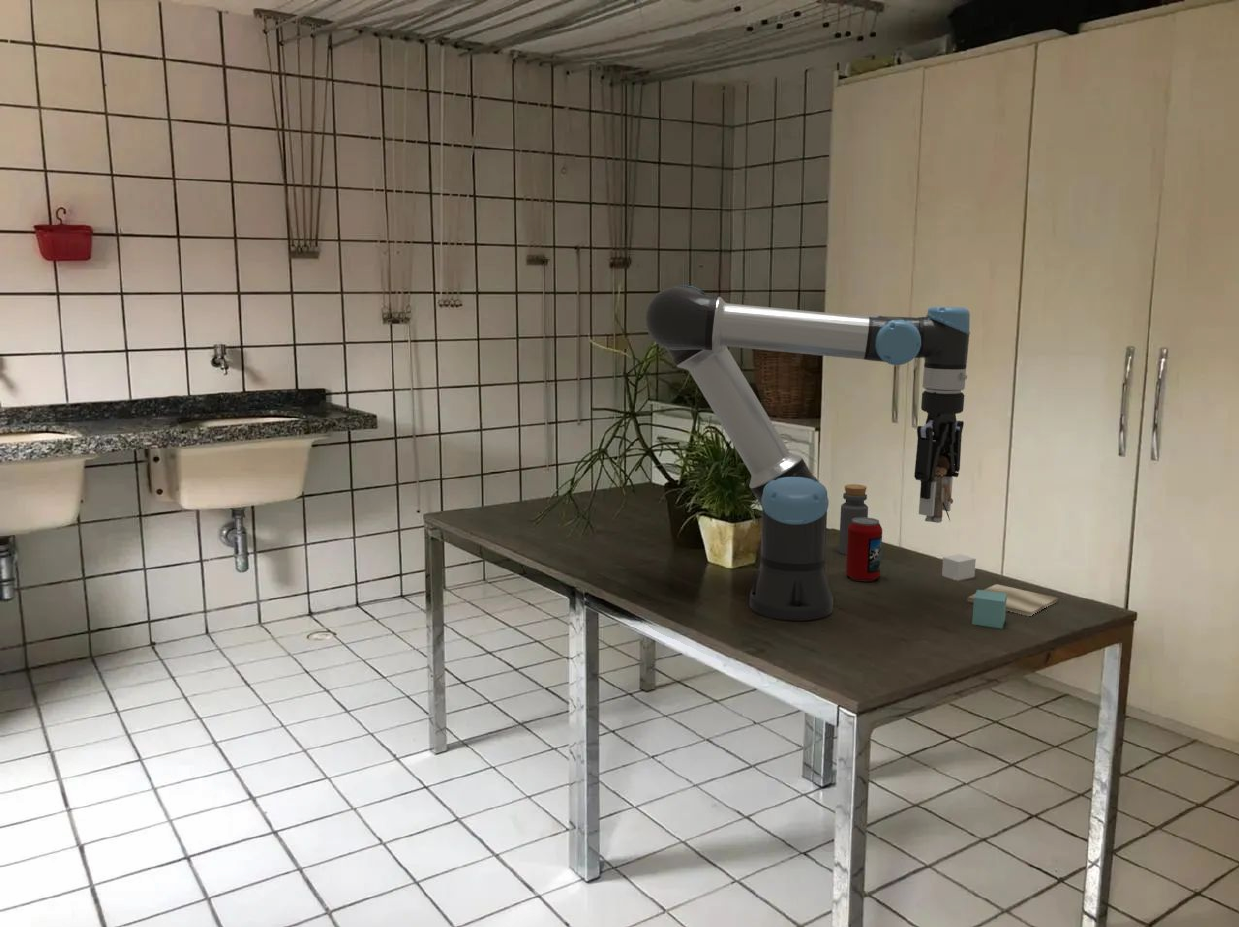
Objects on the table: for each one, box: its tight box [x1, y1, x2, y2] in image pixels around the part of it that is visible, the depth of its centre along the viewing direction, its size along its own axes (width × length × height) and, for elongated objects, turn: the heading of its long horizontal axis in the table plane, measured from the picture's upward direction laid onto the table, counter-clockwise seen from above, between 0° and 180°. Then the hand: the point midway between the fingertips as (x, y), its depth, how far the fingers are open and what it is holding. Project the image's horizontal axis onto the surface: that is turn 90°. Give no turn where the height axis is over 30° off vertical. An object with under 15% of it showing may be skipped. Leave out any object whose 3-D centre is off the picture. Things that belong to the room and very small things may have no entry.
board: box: [966, 583, 1059, 617], centre depth 188 cm, size 12×12×1 cm
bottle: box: [838, 483, 869, 556], centre depth 221 cm, size 6×6×15 cm
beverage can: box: [845, 517, 883, 582], centre depth 202 cm, size 7×7×12 cm
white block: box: [941, 553, 977, 581], centre depth 204 cm, size 5×4×4 cm
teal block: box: [971, 589, 1007, 630], centre depth 177 cm, size 5×5×5 cm
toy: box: [919, 452, 957, 524], centre depth 189 cm, size 6×6×15 cm
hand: (934, 512), depth 190 cm, fingers closed on toy, 6 cm apart
